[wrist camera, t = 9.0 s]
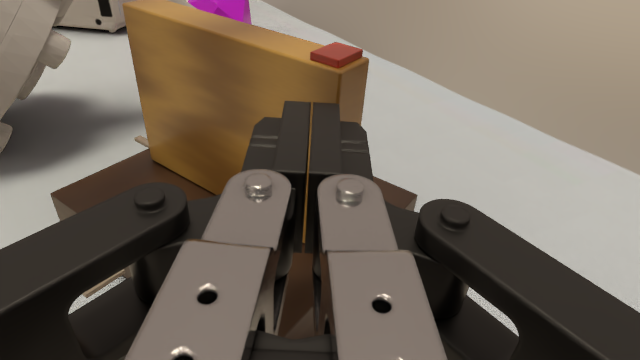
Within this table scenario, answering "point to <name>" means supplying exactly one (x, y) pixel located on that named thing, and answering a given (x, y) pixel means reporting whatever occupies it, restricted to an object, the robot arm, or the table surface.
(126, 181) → the panel
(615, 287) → the table surface
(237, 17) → the crystal
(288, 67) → the tan wooden flat block
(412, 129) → the table surface
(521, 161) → the table surface
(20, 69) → the valve
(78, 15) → the radio
